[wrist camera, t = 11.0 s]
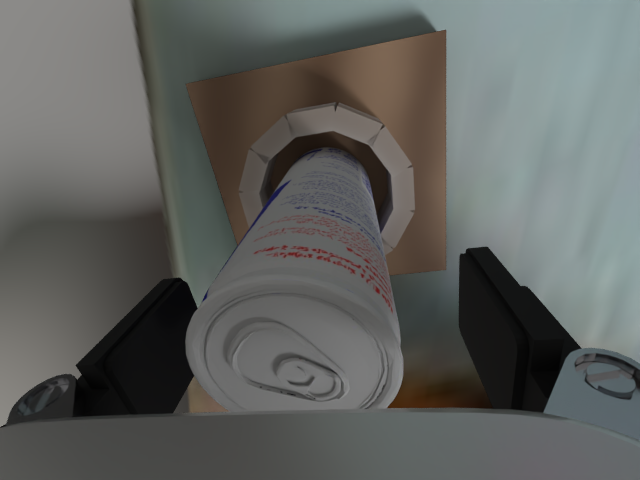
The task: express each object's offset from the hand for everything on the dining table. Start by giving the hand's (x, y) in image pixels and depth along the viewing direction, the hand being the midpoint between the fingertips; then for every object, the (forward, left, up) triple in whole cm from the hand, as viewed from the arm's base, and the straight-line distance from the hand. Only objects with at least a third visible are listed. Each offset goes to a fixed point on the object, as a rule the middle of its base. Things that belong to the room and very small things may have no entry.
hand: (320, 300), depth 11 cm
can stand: (0, 0, -13) cm, 13 cm away
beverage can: (0, 0, -12) cm, 12 cm away
